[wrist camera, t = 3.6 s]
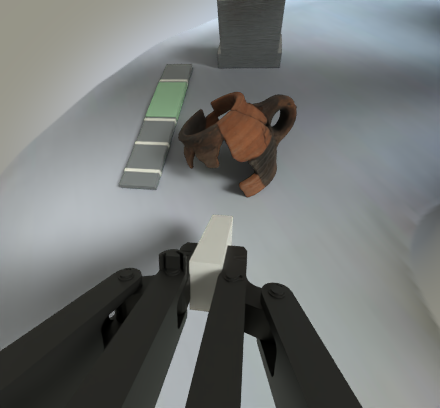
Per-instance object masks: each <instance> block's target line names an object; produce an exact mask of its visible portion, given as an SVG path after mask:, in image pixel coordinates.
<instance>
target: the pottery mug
mask: <svg viewBox="0 0 440 408" xmlns="http://www.w3.org/2000/svg"><path fill="white" fill-rule="evenodd" d="M211 105H212V108H213V109H214V111H213V112H212V113H210V114H209V115H208V116H207V117H206V118H205V116H204V113H203V110H202V109H200V110H199V111H197V112H196V113H195V114H194V115H193V116H192V117H191V118H190V119H189V120H188V121H187V122H186V123H185V124H184V125H183V127H182V129H181V131H180V132H179V137H178V138H179V140H180V141H181V142H182V143H183V144H184V155H185V158H186V161H187V163H188V165H189V167H190V168H191V169H192V168H193V167H194V166H193V159H194V156H195V155H196V157H197V158H198V159H199V160H200V161H201V162H203V163H204V164H205V165H206V166H207V167H208V168H218V167H219V161H218V158H217V157H218V155H219V150H220V146H221V144H222V142H223V140H225V142H226V144H227V145H228V147H229V149H230V152H231V155H232V157H233V158H234V159H236V160H237V161H239V162H245V161H248V163H249V164H250V165H251V166H252V167H253V168H254V171H255V173H254V174H253V175H251V176H250V177H249V178H247V179H246V180H244V181H242V182H240V183H239V187H240V189H241V190H242V191H243V192H244V194H245V195H246V197H250V196H253V195H255V194H257V193H258V192H260V191H261V190H262V189H264V188H265V187H266V186H267V185H268V184H269V183H270V182H271V181H272V180H273V178H274V176H275V174H276V171H277V164H276V154H277V146H278V144H279V142H280V141H281V140H282V139H283V138H284V137H285V136H286V135H287V134H288V132H289V131H290V130H291V128H292V127H293V125H294V122H295V120H296V114H297V112H296V108H297V107H296V105H295V104H294V101H293V99H292V98H290V97H289V96H286V95H280V94H278V95H274V96H272V97H269V98H268V99H266V100H264V101H262V102H260V103H254V104H251V103H246V100H245V97H244V95H243V94H242V93H240V92H233V93H229V94H226V95H224V96H222V97H220V98H218V99H216V100H214V101H212V102H211ZM229 110H230V111H229ZM278 110H280V117H279V119H278V121H277V123H276V124H275V125H274V126H272V127H271V125H270V124H271V120H272V118H273V116H274V115H275V113H276V112H277V111H278ZM227 111H229V112H228V113H227V114H226V115H225V116H224V117H223V118H221V119H220V120H219V119H218V117H219V116H220V115H222V114H224V113H226V112H227Z"/></svg>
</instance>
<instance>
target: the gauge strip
mask: <svg viewBox="0 0 440 408" xmlns="http://www.w3.org/2000/svg"><path fill="white" fill-rule="evenodd" d="M192 69H193V67H192V64H167V65H166V67H165V70H164V72H163V75H162V77H161V79H160V82H159V83H158V86H157V88H156V91H155V93H154V96H153V98H152V101H151V103H150V106H149V108H148V111H147V113H146V118H145V119H144V123H143V126H142V128H141V131H140V133H139V136H138V139H137V141H136V142H135V146H134V149H133V151H132V154H131V156H130V159H129V161H128V164H127V167H126V168H125V170H124V171H125V172H124V174H123V177H122V179H121V182H120V184H119V185H120V186H121V187H122V188H135V189H150V190H157V186H158V183H159V180H160V176H161V174H162V170H163V166H164V163H165V160H166V156H167V153H168V149H169V147H170V143H171V139H172V136H173V133H174V129H175V126H176V124H177V121H178V117H179V114H180V110H181V107H182V104H183V100H184V97H185V94H186V90H187V86H188V82H189V79H190V76H191V72H192Z"/></svg>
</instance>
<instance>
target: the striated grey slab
mask: <svg viewBox="0 0 440 408" xmlns="http://www.w3.org/2000/svg"><path fill="white" fill-rule="evenodd" d="M217 6H218V21H219V35H220V45H219V49H218V54H217V55H218V67H219V68H279V67H280V60H281V54H282V38H281V28H282V20H283V13H284V6H285V0H217Z"/></svg>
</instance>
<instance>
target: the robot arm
mask: <svg viewBox="0 0 440 408" xmlns="http://www.w3.org/2000/svg"><path fill="white" fill-rule="evenodd" d="M232 223H233V216H224V215H212V217H211V219H210V221H209V223H208V225H207V227H206V229H205V231H204V233H203V235H202V237H201V239H200V241H199V243H190V242H187V243H186V244H184V245H183V246H182V247H181V248H180V250H177V249H171V250H166V251H164V252H162V253H160V254H159V269H160V270H159V272H158V273H157V274H156V275H152V276H143V277H142V274H141V272H140V270H138V269H135V268H126V269H122V270H119V271H118V272H116V273H114V274H113V275H111V276H110V277H108V278H107V279H105V280H104V281H102V282H101V283H99V284H98V285H97V286H95V287H94V288H92V289H91V290H89V291H88V292H86V293H85V294H83V295H82V296H80V297H79V298H78V299H76V300H75V301H73V302H72V303H70V304H69V305H67V306H66V307H64V308H63V309H61V310H60V311H59V312H57V313H56V314H54V315H53V316H51V317H50V318H48V319H47V320H45V321H44V322H42V323H41V324H40V325H38V326H37V327H35V328H34V329H32V330H31V331H29V332H28V333H26V334H25V335H23V336H22V337H21V338H19V339H18V340H16V341H15V342H13V343H12V344H10V345H9V346H7V347H6V348H4V349H3V350H2V351H0V408H155V405H156V402H157V400H158V397H159V394H160V391H161V388H162V386H163V383H164V380H165V377H166V374H167V372H168V369H169V366H170V363H171V360H172V358H173V355H174V352H175V349H176V346H177V344H178V341H179V338H180V335H181V332H182V330H183V327H184V324H185V321H186V318H187V307H188V304H189V302H190V309H191V310H198V311H206V312H209V314H208V318H207V322H206V326H205V330H204V334H203V338H202V342H201V346H200V350H199V354H198V358H197V362H196V366H195V370H194V374H193V378H192V382H191V386H190V390H189V394H188V398H187V402H186V406H185V408H240V407H241V385H242V362H243V340H244V332H245V333H247V334H249V335H252V336H254V337H256V338H257V344H258V348H259V351H260V354H261V358H262V361H263V365H264V368H265V372H266V375H267V378H268V382H269V385H270V389H271V392H272V396H273V399H274V402H275V406H276V408H362V406H361V404H360V403H359V401H358V399H357V398H356V396H355V395H354V393H353V391H352V390H351V388H350V386H349V385H348V383H347V381H346V380H345V378H344V376H343V375H342V373H341V372H340V370H339V368H338V367H337V365H336V363H335V362H334V360H333V358H332V357H331V355H330V354H329V352H328V350H327V349H326V347H325V345H324V344H323V342H322V340H321V339H320V337H319V335H318V334H317V332H316V331H315V329H314V327H313V326H312V324H311V322H310V321H309V319H308V317H307V316H306V314H305V312H304V311H303V309H302V308H301V306H300V304H299V303H298V301H297V299H296V298H295V296H294V294H293V293H292V291H291V290H290V289H289V288H288V287H286V286H284V285H282V284H279V283H267V284H265V285H264V286H263V287H262V288H260V287H257V286H255V285H253V284H251V283H250V282H249V281H248V280H247V278H246V266H247V250H246V249H245V248H244V247H240V246H231V243H232ZM114 310H115V315H114V316H113V317H111V318H109V314H110V313H112V312H113V311H114Z"/></svg>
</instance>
